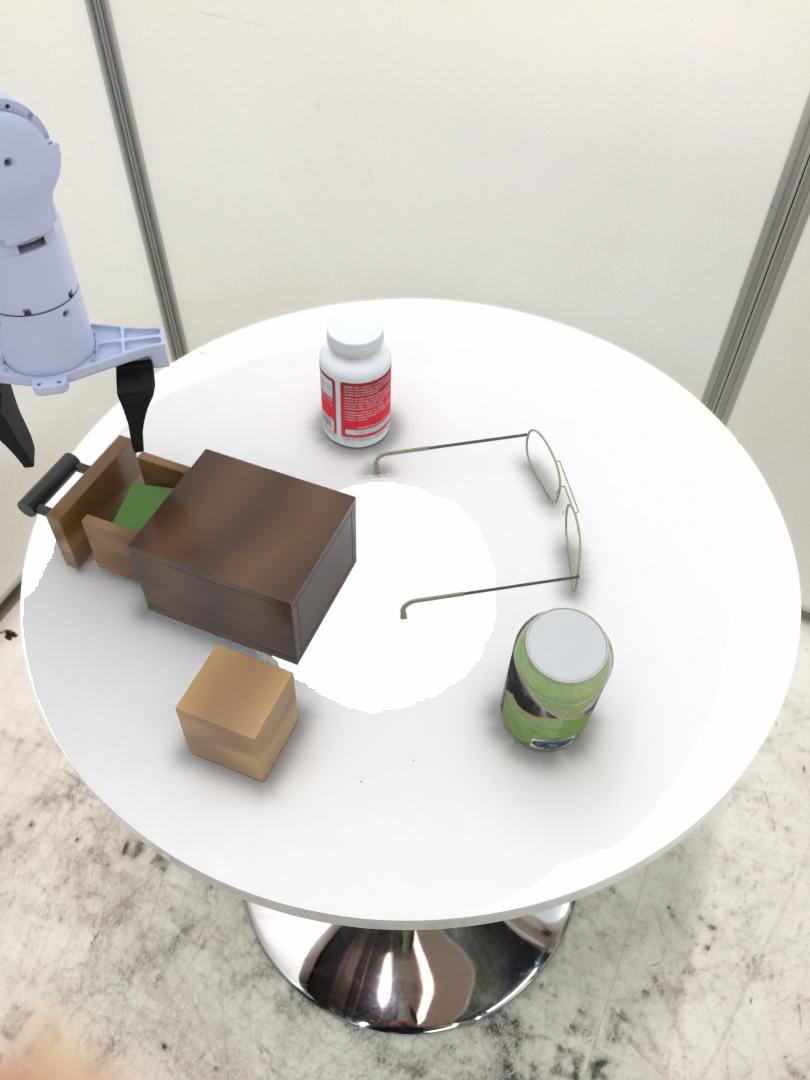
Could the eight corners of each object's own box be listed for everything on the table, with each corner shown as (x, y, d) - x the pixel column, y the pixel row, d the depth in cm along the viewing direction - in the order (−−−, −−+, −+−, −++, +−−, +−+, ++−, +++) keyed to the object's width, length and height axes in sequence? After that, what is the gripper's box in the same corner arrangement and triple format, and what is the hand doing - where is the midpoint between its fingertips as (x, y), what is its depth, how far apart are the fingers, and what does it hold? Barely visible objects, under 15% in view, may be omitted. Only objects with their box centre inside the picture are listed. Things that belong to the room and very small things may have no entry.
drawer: (14, 546, 68) (-10, 495, 64) (86, 468, 74) (68, 417, 70) (195, 613, 65) (183, 565, 60) (256, 526, 70) (248, 476, 66)
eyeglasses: (588, 600, 68) (602, 560, 64) (400, 620, 66) (402, 580, 62) (537, 458, 78) (546, 416, 74) (372, 472, 76) (373, 429, 72)
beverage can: (583, 684, 63) (619, 583, 54) (586, 778, 58) (627, 686, 49) (496, 675, 63) (518, 573, 54) (493, 768, 58) (517, 675, 49)
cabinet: (148, 609, 66) (127, 545, 60) (218, 514, 72) (205, 448, 67) (297, 665, 63) (290, 603, 57) (356, 561, 70) (356, 496, 64)
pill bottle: (402, 420, 81) (406, 320, 72) (367, 459, 77) (367, 359, 69) (345, 396, 83) (343, 296, 74) (309, 434, 79) (302, 333, 71)
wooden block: (189, 752, 58) (174, 708, 54) (227, 690, 62) (216, 643, 57) (263, 783, 57) (254, 740, 53) (298, 718, 60) (293, 672, 56)
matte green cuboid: (140, 510, 70) (132, 482, 67) (183, 516, 69) (177, 488, 67) (117, 557, 66) (108, 530, 64) (163, 564, 66) (155, 537, 64)
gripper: (-107, 343, 49) (-25, 505, 60) (155, 314, 52) (190, 474, 62) (-92, 274, 54) (-18, 436, 64) (148, 250, 56) (182, 409, 67)
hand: (84, 450), depth 63 cm, fingers open, 7 cm apart
